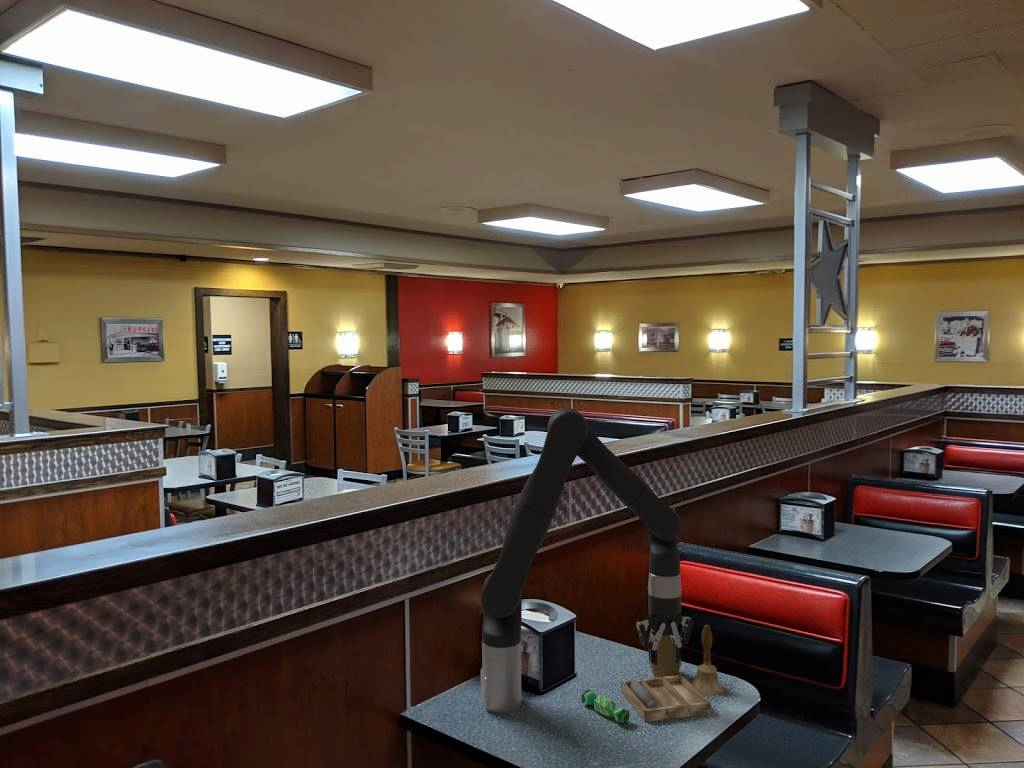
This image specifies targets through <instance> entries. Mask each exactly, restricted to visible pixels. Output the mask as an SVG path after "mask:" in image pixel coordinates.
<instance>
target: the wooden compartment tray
mask: <svg viewBox="0 0 1024 768" xmlns="http://www.w3.org/2000/svg"><path fill="white" fill-rule="evenodd" d="M633 681H638V682H639V683H640V684H641V685H642V686H643V688H644V689H645V690H646V691H647V692H648V693H649V695H650V696H651V697H652V698H653V699H654V700H655V701H656V703H657V705H658V707H657V708H651V709H648V708H647V707H646V706H645V705H644V704H643V702H642V701H641V700H640V699H639V698H638V696H637V695H636V694H635V693H634V692H633V690H632V689H631V683H632V682H633ZM620 693H621V694H622V695H623V697H624V698H625V699H626V700H627V701H628V702H629V704H630V705H631V706H632V708H633V709H634V710H635V711H636V713H637V714H638V715H639V717H641V719H642V720H643V722H644V723H648V722H647V721H649V722H655V721H656V722H657V721H664V719H665V720H671V719H672V718H673V719H679V718H678V717H680V718H685V717H687V718H688V717H692V716H693V717H694V716H700V715H706V714H711V712H712V711H711V710H712V709H711V706H712V704H711V702H710V701H709V700H708V699H707V697H705V695H702V694H701V693H700V692H699V691H698V690H697V689H696V688H695V687H694V686H693V685H692V684H691V682H690V681H689V680H688V679H687V678H686V677H685V676H684V675H682V674H677V675H676V676H666V677H657V678H656V677H651V678H650V677H649V678H641V679H632V680H624V681H623V680H622V681H620Z"/></svg>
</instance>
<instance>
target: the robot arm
mask: <svg viewBox="0 0 1024 768" xmlns="http://www.w3.org/2000/svg"><path fill="white" fill-rule="evenodd" d="M546 432H547V433H546V436H545V439H544V443H543V447H542V451H541V453H540V456H539V459H538V461H537V464H536V466H535V468H534V469H533V470H532V473H531V474H530V475H529V477H528V478H527V481H526V483H525V484H524V485H523V487H522V489H521V491H520V494H519V496H518V499H517V501H516V503H515V505H514V507H513V511H512V513H511V517H510V519H509V522H508V525H507V529H506V532H505V535H504V540H503V542H502V543H503V544H502V548H501V552H500V554H499V555H498V559H497V560H496V561H497V562H496V563H495V565H494V567H493V569H492V571H491V573H490V574H489V575H488V576H487V577H486V578H485V580H484V583H483V585H482V587H481V590H480V596H479V597H480V603H481V607H482V611H483V613H482V614H483V617H482V626H481V627H482V628H481V647H482V648H481V649H482V650H481V652H482V653H481V654H482V655H481V656H482V657H481V660H482V664H481V667H482V668H480V701H481V704H482V706H483V709H484V712H486V713H487V712H488V713H489V712H493V713H498V714H501V713H509V712H513V711H515V710H517V709H519V708H520V707H521V705H522V701H523V700H522V621H523V620H522V619H523V618H522V612H523V611H522V609H523V607H522V606H523V605H522V603H523V602H522V601H523V600H522V598H523V596H522V595H523V594H522V592H523V591H522V590H523V588H524V585H525V581H526V579H527V578H526V577H527V574H528V572H529V569H530V567H531V565H532V562H533V560H534V559H535V557H536V556H537V553H538V551H539V550H540V548H541V546H542V543H543V542H544V540H545V537H546V535H547V534H548V531H549V529H550V528H551V527H550V526H551V524H552V521H553V519H554V517H555V515H556V512H557V509H558V506H559V504H560V501H561V497H562V494H563V491H564V488H565V484H566V479H567V477H568V475H569V473H570V470H571V468H572V467H573V464H574V462H575V460H576V458H577V457H578V458H579V459H580V460H582V461H583V462H584V464H586V465H587V466H588V467H589V468H590V469H591V470H592V472H594V474H595V475H596V476H597V477H598V478H599V480H600V481H601V482H602V483H603V484H604V485H605V486H606V487H607V489H609V491H610V492H611V493H612V495H614V496H615V497H616V498H617V499H618V500H619V501H620V502H621V503H622V504H623V505H625V506H626V507H627V508H628V509H629V510H630V511H631V512H633V513H634V514H635V515H636V516H637V517H638V518H639V520H640V521H641V522H642V523H643V524H644V525H645V526H646V528H647V536H648V545H649V560H648V561H649V564H648V566H649V568H648V569H649V572H648V581H647V582H648V584H647V591H648V592H647V593H648V595H647V596H648V599H647V600H648V603H647V605H648V606H647V607H648V608H647V609H648V616H647V617H646V619H644V620H642V621H640V620H637V621H635V626H636V630H637V634H638V637H639V642H640V644H641V645H642V646H643V647H644V648H645V649H648V662H649V661H650V662H651V663H652V664H653V665H654V666H655V665H657V650H656V649H657V646H658V643H659V641H660V640H661V637H662V636H664V635H670V636H671V639H672V642H673V645H672V661H673V662H674V663H678V662H679V660H680V658H681V657H682V656H681V649H682V646H684V645H688V644H689V643H690V638H691V634H692V630H693V626H694V620H693V619H692V618H691V616H690V617H689V615H688V616H687V615H686V616H682V613H681V612H682V580H681V559H680V558H681V557H680V551H679V549H678V545H677V543H678V542H677V541H678V540H677V538H678V537H679V536H680V535H681V532H682V531H683V522H682V518H681V516H680V515H679V514H678V513H677V512H676V511H675V509H673V508H672V507H671V506H669V505H668V504H667V503H665V502H664V500H662V499H661V498H660V497H659V496H658V495H657V494H656V493H655V492H654V491H653V490H652V488H651V487H650V486H649V485H648V484H647V482H645V481H644V480H643V479H642V478H641V476H639V475H638V474H637V473H636V472H635V471H634V470H633V469H632V468H631V467H629V466H628V465H627V464H626V463H625V462H623V460H621V459H620V458H619V457H618V456H617V455H615V453H613V452H612V451H611V450H610V449H609V448H608V447H607V446H606V445H605V444H604V443H603V442H602V441H601V440H600V438H599V437H598V436H597V435H596V434H595V433H594V431H593V430H592V428H591V427H590V426H589V424H588V423H587V421H586V419H585V417H584V415H583V414H582V413H581V412H579V411H578V410H577V409H574V408H570V407H563V408H559V409H557V410H556V411H554V412H553V413H552V414H551V415H550V417H549V419H548V421H547V431H546ZM680 625H682V626H681V629H680V630H681V631H680V633H679V631H678V628H679V627H680ZM648 626H649V627H650V628H651V630H650V633H649V637H648V635H647V634H648V633H647V631H648ZM681 659H682V658H681Z"/></svg>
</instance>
